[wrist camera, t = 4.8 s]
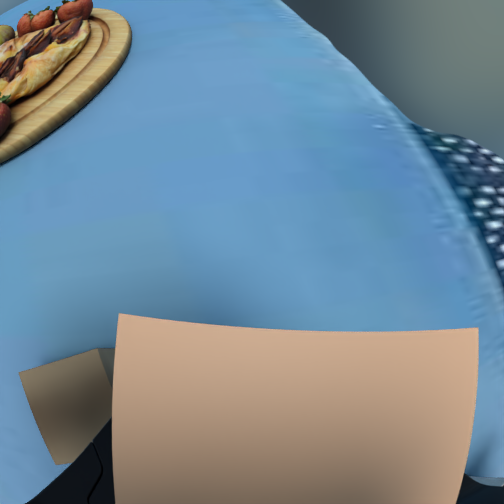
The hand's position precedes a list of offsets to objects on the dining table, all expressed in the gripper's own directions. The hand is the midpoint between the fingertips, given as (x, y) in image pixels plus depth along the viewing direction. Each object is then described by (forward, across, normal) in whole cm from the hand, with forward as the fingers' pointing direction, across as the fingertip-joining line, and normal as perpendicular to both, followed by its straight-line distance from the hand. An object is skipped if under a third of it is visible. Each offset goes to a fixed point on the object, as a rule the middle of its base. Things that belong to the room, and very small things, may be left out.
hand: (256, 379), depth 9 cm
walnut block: (+6, +10, +12) cm, 16 cm away
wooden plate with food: (+30, +30, -11) cm, 44 cm away
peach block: (+4, 0, +6) cm, 7 cm away
